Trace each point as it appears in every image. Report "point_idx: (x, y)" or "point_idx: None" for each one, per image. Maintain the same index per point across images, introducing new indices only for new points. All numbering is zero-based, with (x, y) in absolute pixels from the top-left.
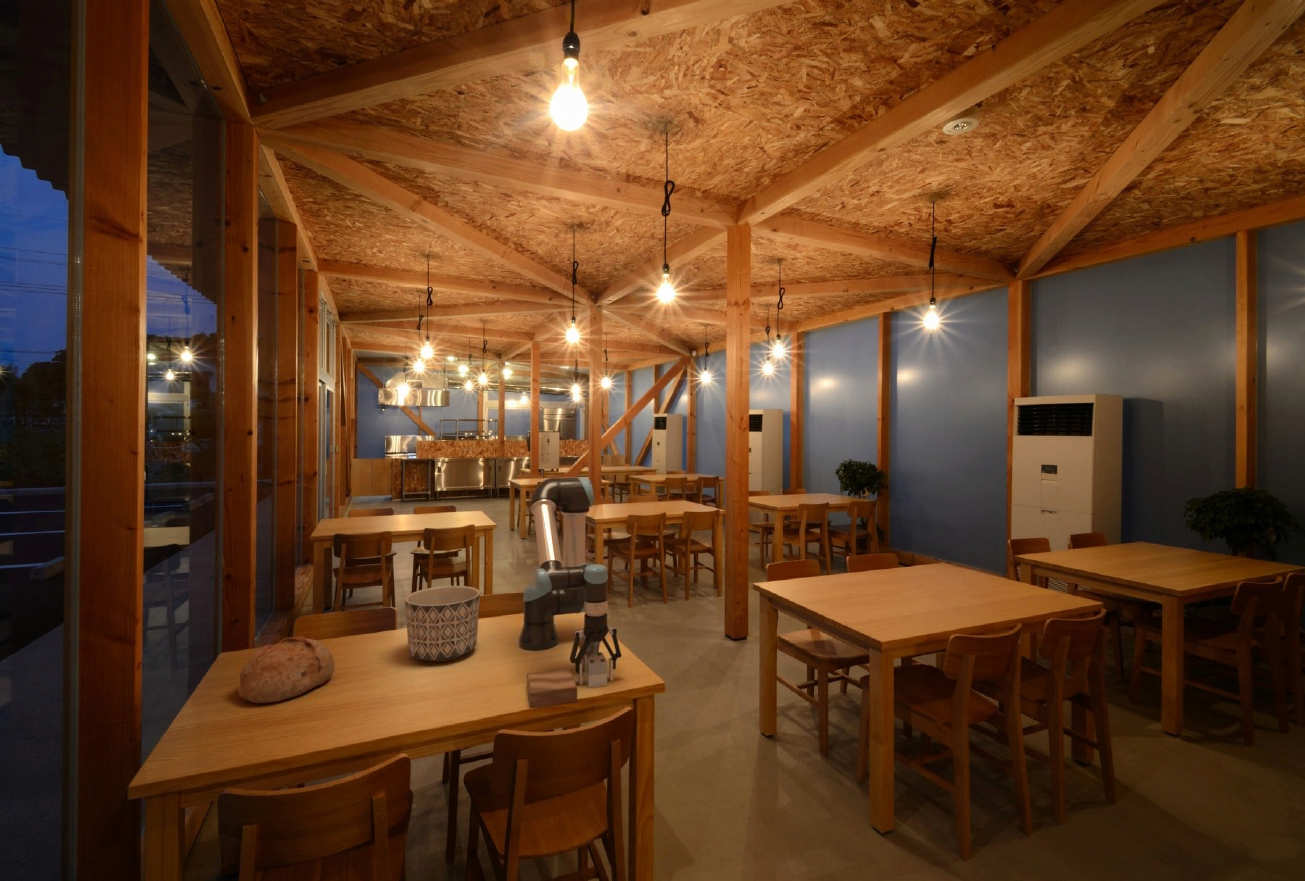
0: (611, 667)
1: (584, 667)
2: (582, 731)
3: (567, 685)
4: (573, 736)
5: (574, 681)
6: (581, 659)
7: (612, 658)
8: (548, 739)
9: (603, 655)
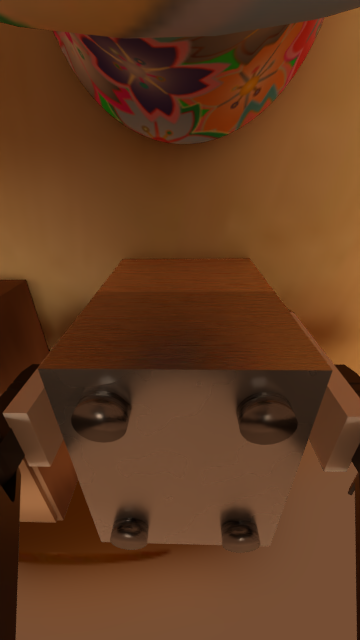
0: None
1: (118, 116)
2: (105, 554)
3: None
4: (84, 560)
5: (41, 476)
6: (17, 516)
7: (357, 494)
8: (27, 557)
9: (294, 456)
